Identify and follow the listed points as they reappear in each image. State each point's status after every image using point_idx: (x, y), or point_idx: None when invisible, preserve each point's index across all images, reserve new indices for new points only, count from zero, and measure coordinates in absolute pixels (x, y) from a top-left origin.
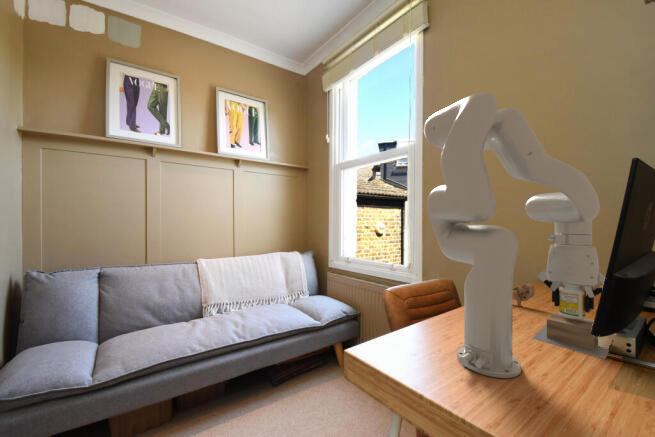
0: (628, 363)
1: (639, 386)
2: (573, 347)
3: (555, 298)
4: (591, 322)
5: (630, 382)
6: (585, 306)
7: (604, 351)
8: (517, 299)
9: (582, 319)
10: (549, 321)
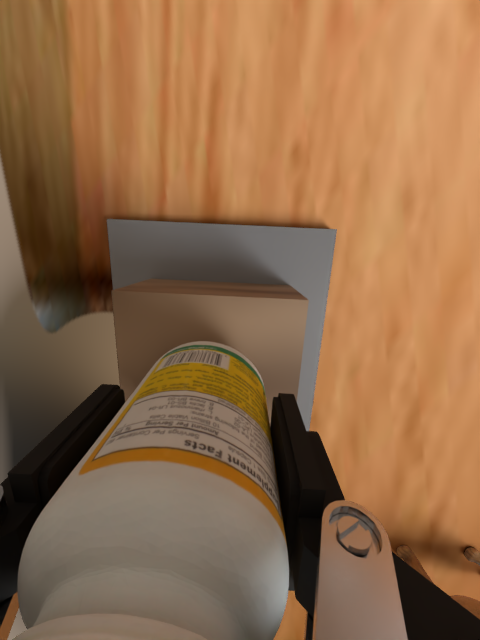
0: (69, 275)
1: (7, 83)
2: (201, 252)
3: (298, 431)
4: None
5: (30, 96)
6: (99, 409)
7: None
8: None
9: None
10: (294, 298)
